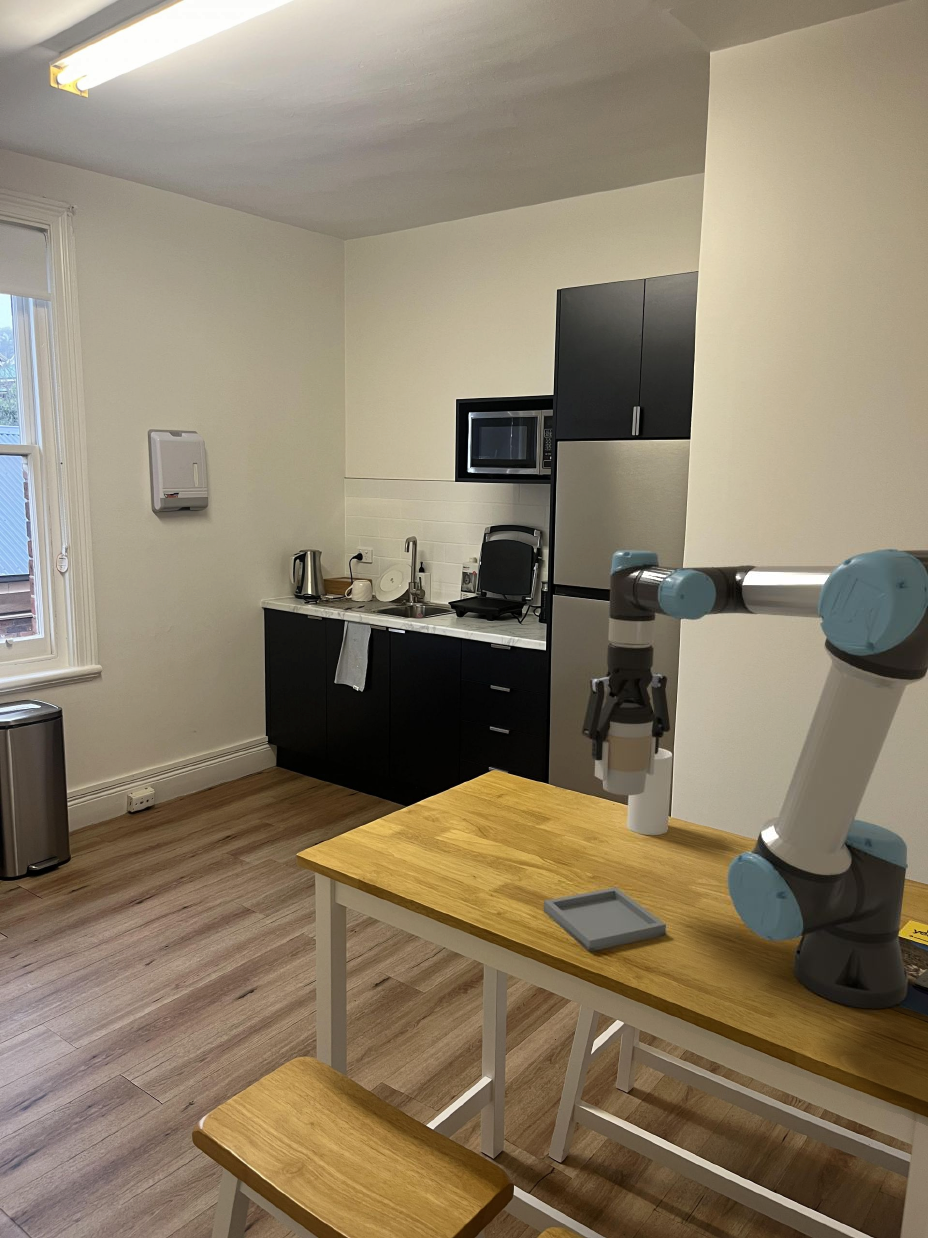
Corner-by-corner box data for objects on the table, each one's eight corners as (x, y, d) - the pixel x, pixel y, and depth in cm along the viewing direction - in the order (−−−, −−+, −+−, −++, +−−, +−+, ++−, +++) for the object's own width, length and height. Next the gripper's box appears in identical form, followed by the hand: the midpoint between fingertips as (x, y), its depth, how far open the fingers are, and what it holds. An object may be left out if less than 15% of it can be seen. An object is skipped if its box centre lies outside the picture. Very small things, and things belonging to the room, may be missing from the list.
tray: (665, 935, 143) (666, 924, 143) (588, 952, 137) (589, 940, 137) (615, 897, 156) (615, 887, 155) (543, 911, 150) (544, 900, 150)
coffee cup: (649, 800, 149) (654, 710, 147) (594, 794, 151) (598, 706, 149) (651, 783, 158) (655, 698, 156) (598, 778, 160) (602, 694, 158)
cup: (671, 836, 183) (676, 759, 181) (630, 834, 183) (634, 758, 181) (663, 820, 191) (667, 747, 189) (623, 819, 191) (628, 746, 189)
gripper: (670, 637, 159) (663, 763, 162) (563, 642, 150) (558, 775, 154) (697, 644, 152) (689, 775, 155) (586, 650, 144) (580, 789, 147)
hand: (624, 775), depth 154 cm, fingers closed on coffee cup, 8 cm apart
